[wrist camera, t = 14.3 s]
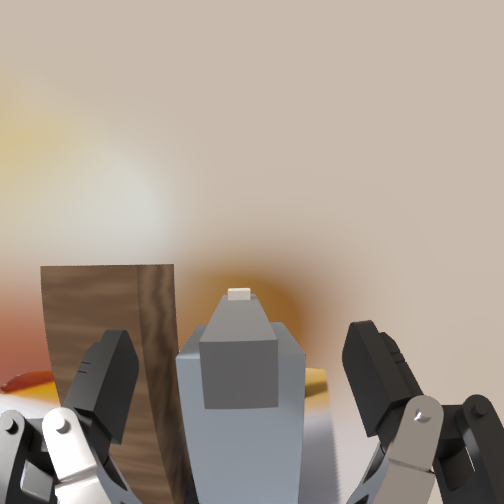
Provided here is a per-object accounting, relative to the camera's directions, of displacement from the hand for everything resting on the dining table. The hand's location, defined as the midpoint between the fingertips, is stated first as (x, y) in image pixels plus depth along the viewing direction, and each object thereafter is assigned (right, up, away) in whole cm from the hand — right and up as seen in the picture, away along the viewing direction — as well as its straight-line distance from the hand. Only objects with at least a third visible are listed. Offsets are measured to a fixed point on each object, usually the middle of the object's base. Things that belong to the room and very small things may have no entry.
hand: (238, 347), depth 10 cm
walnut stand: (-14, -30, +19) cm, 38 cm away
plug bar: (0, -6, +15) cm, 16 cm away
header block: (0, -30, +19) cm, 35 cm away
